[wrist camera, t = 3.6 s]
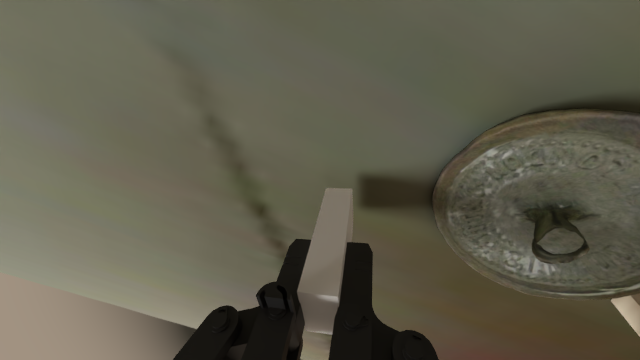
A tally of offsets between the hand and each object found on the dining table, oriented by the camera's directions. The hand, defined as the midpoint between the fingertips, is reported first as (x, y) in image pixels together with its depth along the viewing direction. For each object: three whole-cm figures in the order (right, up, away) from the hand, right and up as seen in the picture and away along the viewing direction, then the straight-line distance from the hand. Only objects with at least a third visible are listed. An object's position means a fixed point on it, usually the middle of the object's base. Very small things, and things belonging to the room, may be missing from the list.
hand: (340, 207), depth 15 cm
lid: (+10, +1, -1) cm, 10 cm away
